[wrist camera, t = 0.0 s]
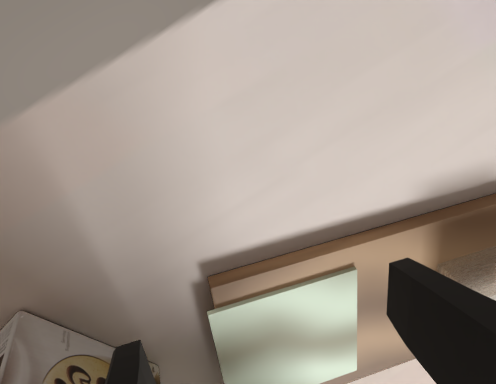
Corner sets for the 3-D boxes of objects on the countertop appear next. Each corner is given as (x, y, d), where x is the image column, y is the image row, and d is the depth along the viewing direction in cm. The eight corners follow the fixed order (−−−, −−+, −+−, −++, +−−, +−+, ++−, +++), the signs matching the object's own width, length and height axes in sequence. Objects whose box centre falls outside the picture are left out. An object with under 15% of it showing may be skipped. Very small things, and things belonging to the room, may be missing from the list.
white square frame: (493, 300, 30) (535, 336, 27) (430, 321, 29) (467, 361, 26) (505, 242, 27) (554, 274, 24) (438, 264, 26) (479, 300, 23)
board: (501, 314, 33) (566, 370, 28) (230, 411, 28) (253, 495, 24) (533, 182, 27) (622, 225, 22) (198, 279, 23) (220, 357, 18)
